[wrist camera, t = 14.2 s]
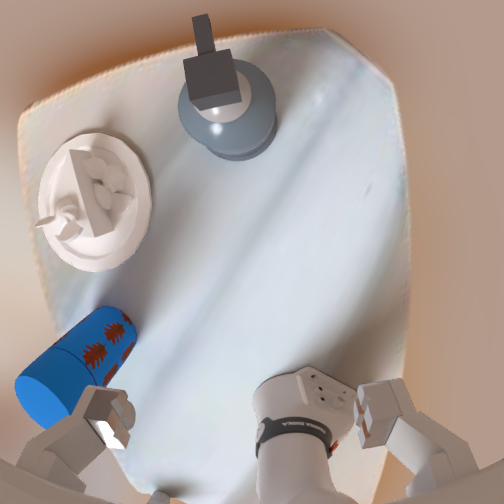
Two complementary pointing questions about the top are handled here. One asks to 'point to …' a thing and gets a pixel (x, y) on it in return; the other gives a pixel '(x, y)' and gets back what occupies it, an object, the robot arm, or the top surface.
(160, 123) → the top surface
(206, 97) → the pump head
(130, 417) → the robot arm
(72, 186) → the dish
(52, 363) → the thermos
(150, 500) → the house plant
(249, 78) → the dispenser
